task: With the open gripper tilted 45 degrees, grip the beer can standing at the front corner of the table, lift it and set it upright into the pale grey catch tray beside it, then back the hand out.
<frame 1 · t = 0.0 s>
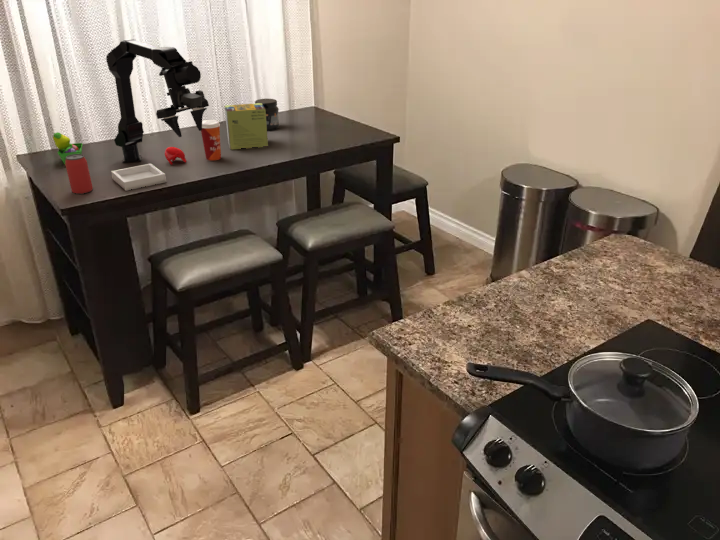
hand: (190, 133, 208), 15 cm above the table, tool pointing down, fingers open, 9 cm apart
protein box: (247, 145, 249), on the table
supplement container: (267, 128, 271), on the table
catch tray: (139, 180, 211), on the table
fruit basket: (71, 161, 230), on the table
paper cup: (213, 158, 233), on the table
cap: (176, 163, 229), on the table
beer can: (82, 191, 203), on the table
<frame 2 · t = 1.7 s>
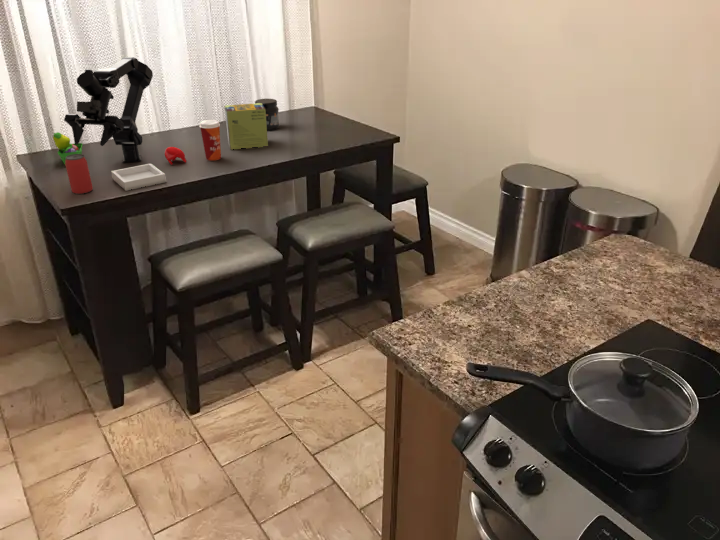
hand: (88, 144, 203), 13 cm above the table, tool tilted 45°, fingers open, 9 cm apart
nothing on the table moved.
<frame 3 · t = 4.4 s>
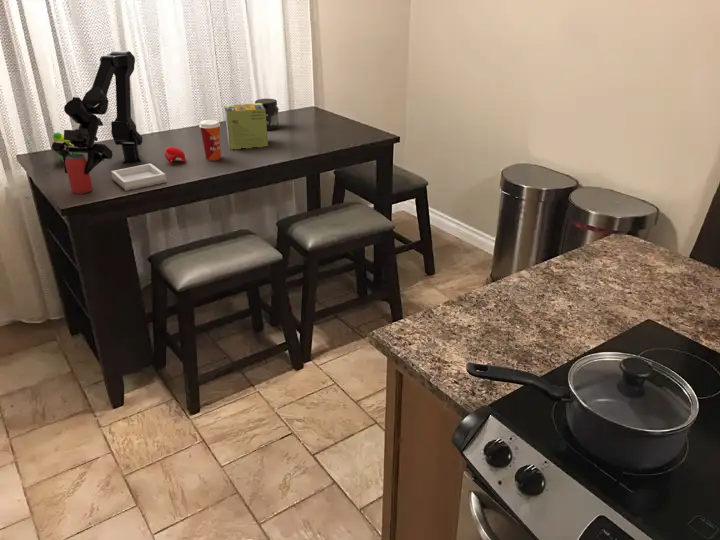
hand: (75, 173, 198), 7 cm above the table, tool tilted 45°, fingers closed on beer can, 6 cm apart
beer can: (82, 191, 203), on the table, touching gripper
everything else where it was.
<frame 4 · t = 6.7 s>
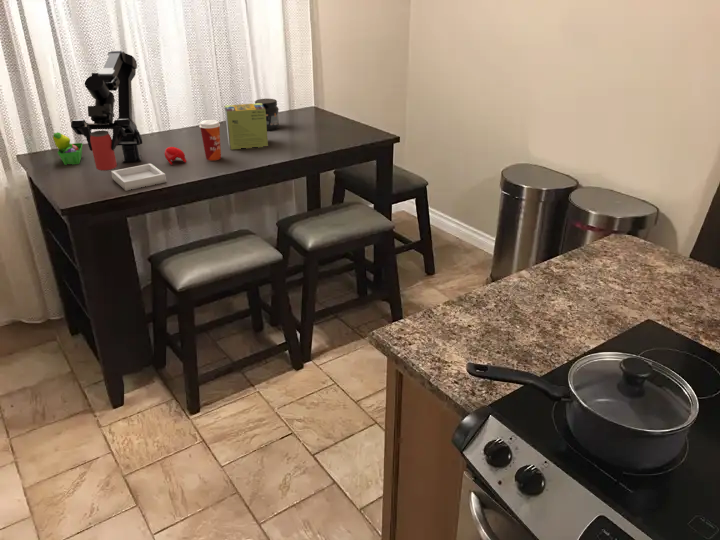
hand: (101, 150, 198), 13 cm above the table, tool tilted 45°, fingers closed on beer can, 6 cm apart
beer can: (107, 168, 203), point 7 cm above the table, touching gripper
everything else where it was.
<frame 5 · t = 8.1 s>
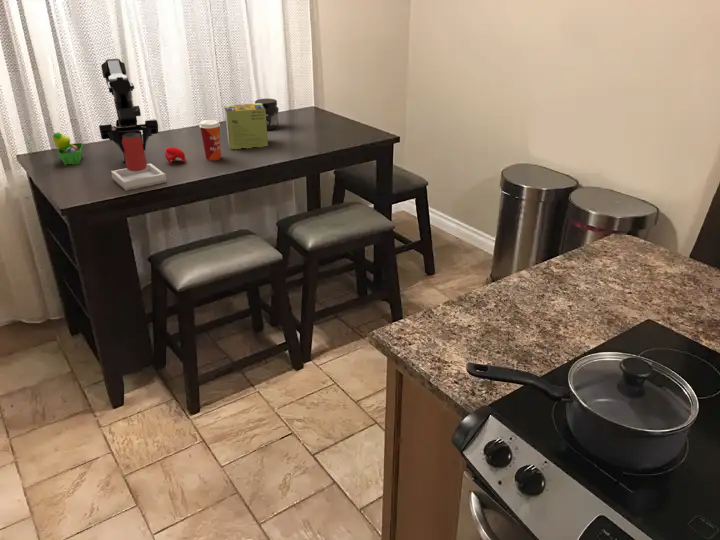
hand: (134, 151, 205), 11 cm above the table, tool tilted 45°, fingers closed on beer can, 6 cm apart
beer can: (137, 169, 210), point 4 cm above the table, touching gripper
everything else where it was.
when the fingers open (8 cm above the table, at t = 9.2 s): beer can stays where it is, resting on catch tray.
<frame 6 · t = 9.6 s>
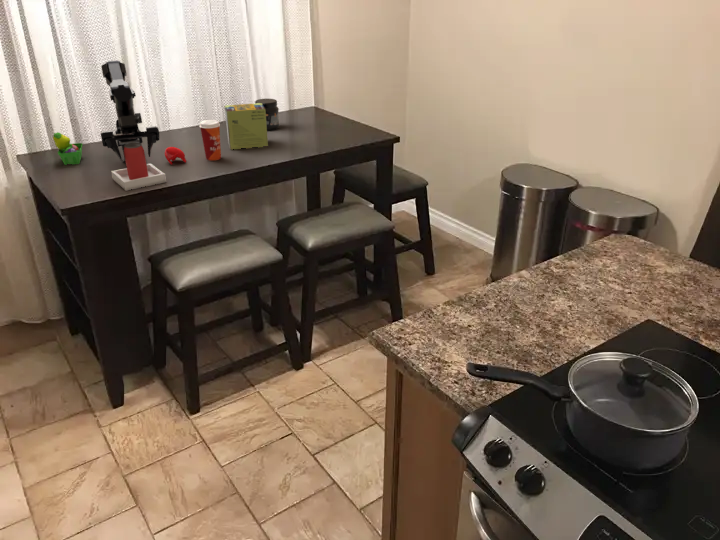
hand: (135, 158, 206), 9 cm above the table, tool tilted 45°, fingers open, 9 cm apart
beer can: (139, 178, 211), point 1 cm above the table, touching catch tray
everything else where it was.
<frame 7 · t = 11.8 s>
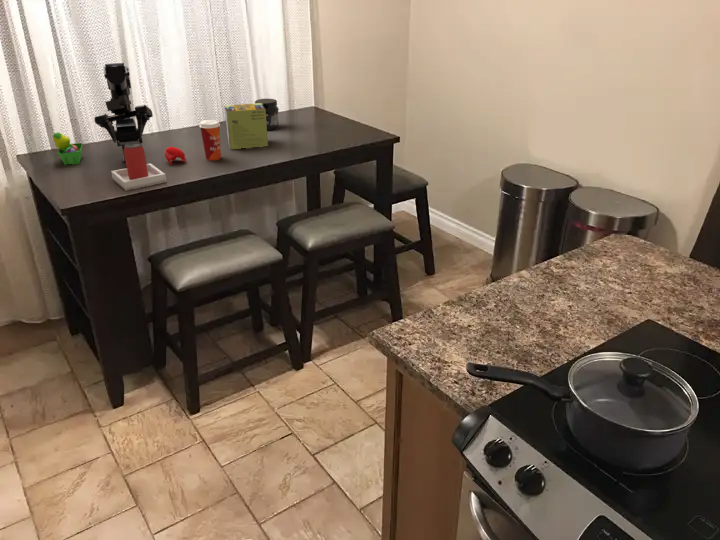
hand: (127, 139, 211), 13 cm above the table, tool tilted 35°, fingers open, 9 cm apart
nothing on the table moved.
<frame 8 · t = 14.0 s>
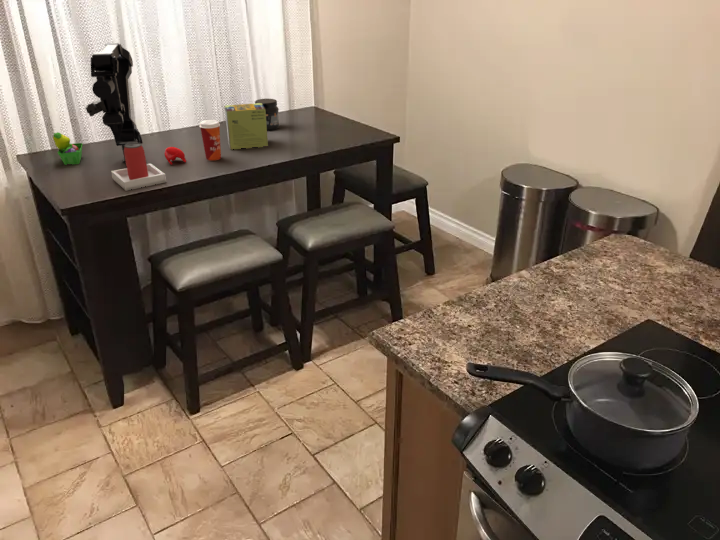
hand: (118, 137, 212), 13 cm above the table, tool pointing down, fingers open, 9 cm apart
nothing on the table moved.
at the end: beer can inside the target area on the catch tray (0.1 cm from its centre), point 0.6 cm above the catch tray's base; beer can tilted 0°; the gripper is holding nothing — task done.
